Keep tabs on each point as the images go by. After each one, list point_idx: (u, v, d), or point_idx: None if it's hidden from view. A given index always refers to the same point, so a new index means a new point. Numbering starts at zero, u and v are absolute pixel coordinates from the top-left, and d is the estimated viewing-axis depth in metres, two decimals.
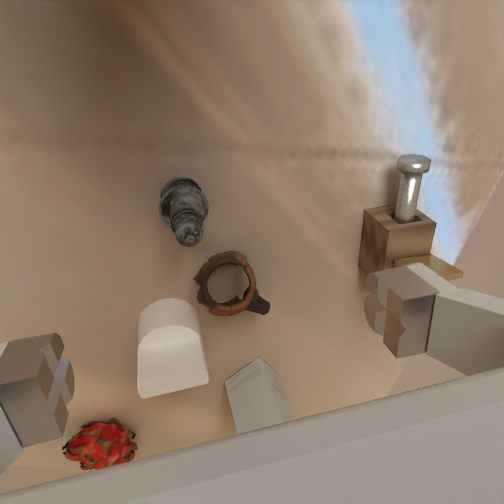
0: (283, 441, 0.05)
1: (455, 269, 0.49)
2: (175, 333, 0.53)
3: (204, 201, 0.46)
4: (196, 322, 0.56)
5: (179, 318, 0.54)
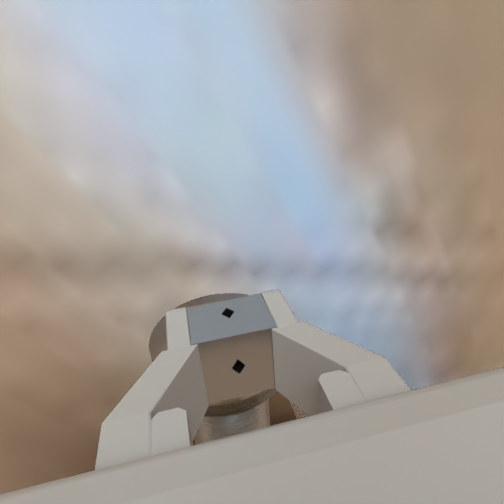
0: (283, 441, 0.05)
1: None
2: None
3: None
4: None
5: None
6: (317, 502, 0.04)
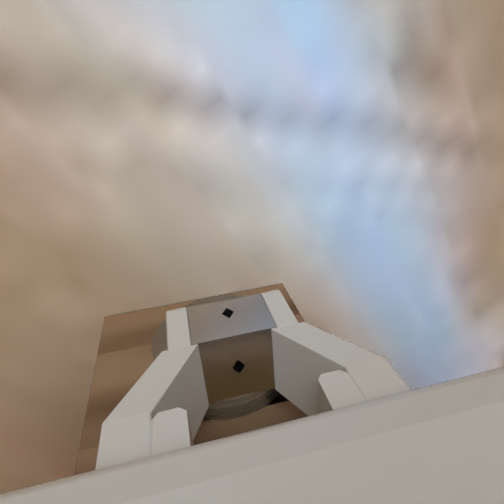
0: (283, 440, 0.05)
1: None
2: None
3: None
4: None
5: None
6: (317, 502, 0.04)
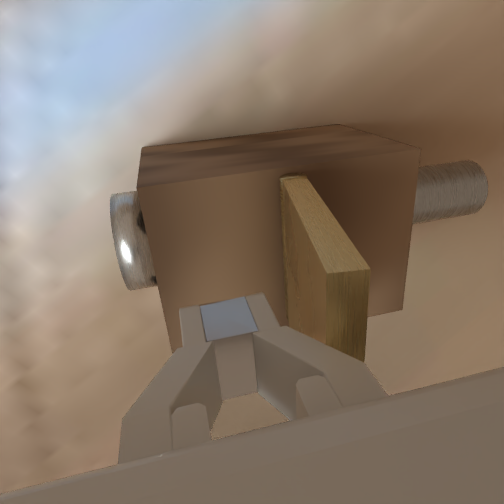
0: (283, 441, 0.05)
1: (315, 267, 0.08)
2: None
3: None
4: None
5: None
6: (317, 502, 0.04)
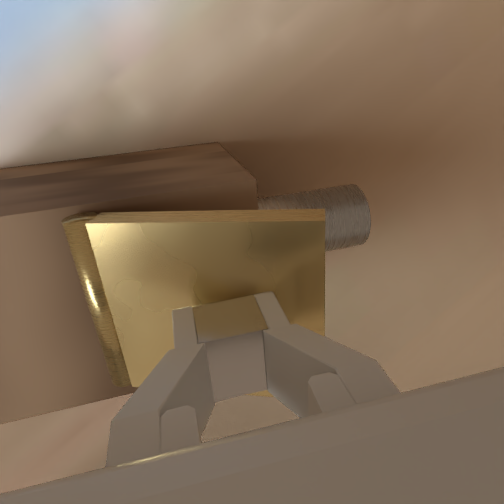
0: (283, 441, 0.05)
1: (284, 236, 0.09)
2: None
3: None
4: None
5: None
6: (317, 502, 0.04)
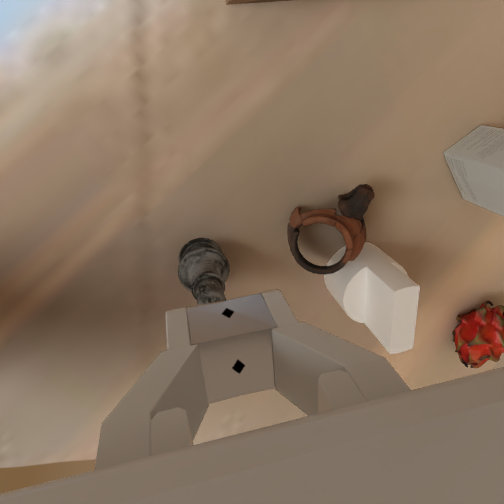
0: (283, 440, 0.05)
1: None
2: (355, 291, 0.47)
3: (196, 253, 0.43)
4: None
5: (341, 281, 0.48)
6: (317, 502, 0.04)
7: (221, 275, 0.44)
